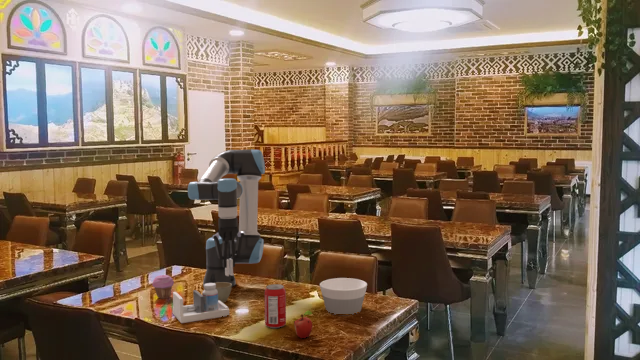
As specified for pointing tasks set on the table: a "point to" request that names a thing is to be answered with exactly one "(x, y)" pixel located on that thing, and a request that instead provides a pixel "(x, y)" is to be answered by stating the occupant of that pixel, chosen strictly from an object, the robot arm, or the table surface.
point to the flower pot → (223, 290)
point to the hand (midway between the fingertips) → (229, 275)
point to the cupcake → (163, 286)
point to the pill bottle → (210, 297)
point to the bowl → (343, 295)
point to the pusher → (197, 302)
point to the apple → (303, 325)
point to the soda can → (275, 306)
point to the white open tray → (190, 316)
